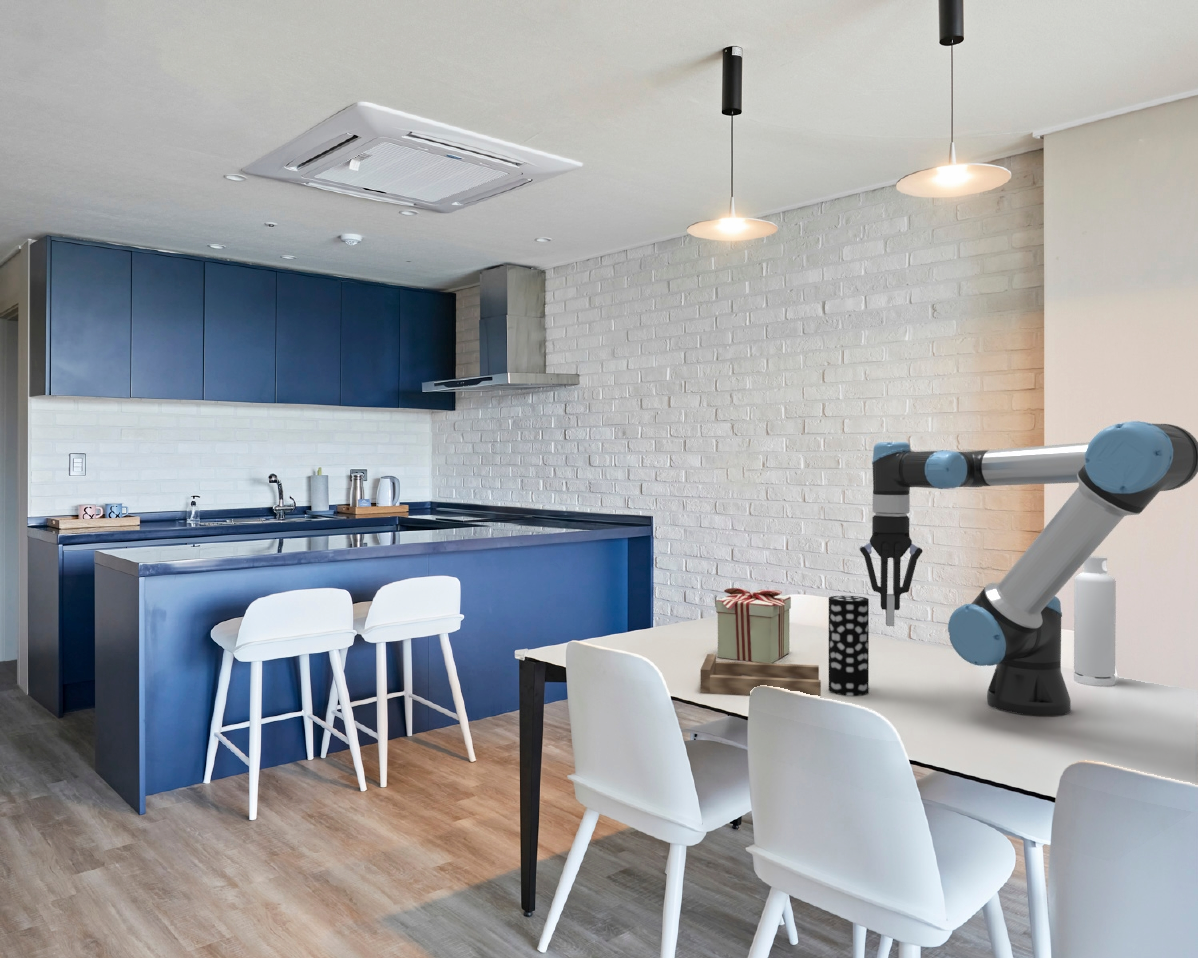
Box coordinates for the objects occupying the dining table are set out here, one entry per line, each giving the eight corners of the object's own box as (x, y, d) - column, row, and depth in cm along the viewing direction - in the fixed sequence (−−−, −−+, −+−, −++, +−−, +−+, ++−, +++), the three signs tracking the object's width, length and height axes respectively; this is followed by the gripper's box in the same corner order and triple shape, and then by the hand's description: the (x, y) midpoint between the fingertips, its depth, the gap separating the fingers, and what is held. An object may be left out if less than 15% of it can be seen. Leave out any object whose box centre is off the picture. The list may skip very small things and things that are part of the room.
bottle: (1080, 675, 205) (1081, 554, 204) (1119, 681, 199) (1120, 556, 199) (1068, 681, 199) (1069, 557, 199) (1108, 688, 193) (1109, 559, 193)
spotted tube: (870, 696, 187) (870, 601, 186) (829, 694, 188) (829, 600, 188) (866, 687, 195) (866, 596, 194) (827, 685, 196) (827, 595, 196)
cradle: (818, 680, 201) (818, 658, 200) (820, 698, 185) (820, 674, 185) (707, 675, 206) (707, 653, 206) (700, 692, 190) (700, 669, 190)
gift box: (711, 661, 221) (711, 592, 221) (733, 647, 238) (732, 583, 238) (778, 667, 214) (778, 596, 214) (796, 653, 231) (796, 587, 230)
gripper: (920, 514, 191) (919, 623, 192) (857, 513, 194) (857, 620, 195) (925, 516, 184) (924, 629, 184) (860, 515, 187) (859, 626, 187)
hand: (890, 624), depth 190 cm, fingers closed
